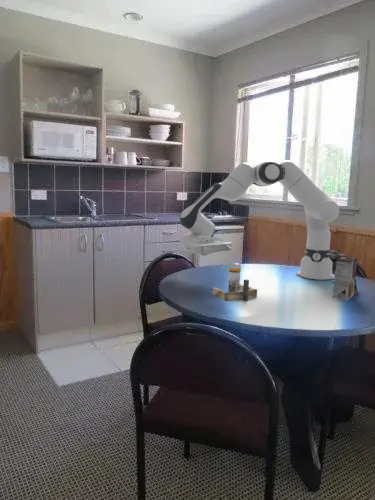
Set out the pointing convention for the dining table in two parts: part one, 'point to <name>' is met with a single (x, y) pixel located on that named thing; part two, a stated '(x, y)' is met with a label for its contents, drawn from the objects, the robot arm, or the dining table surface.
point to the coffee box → (344, 278)
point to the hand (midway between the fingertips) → (221, 249)
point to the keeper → (236, 293)
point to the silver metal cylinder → (234, 277)
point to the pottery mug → (354, 288)
